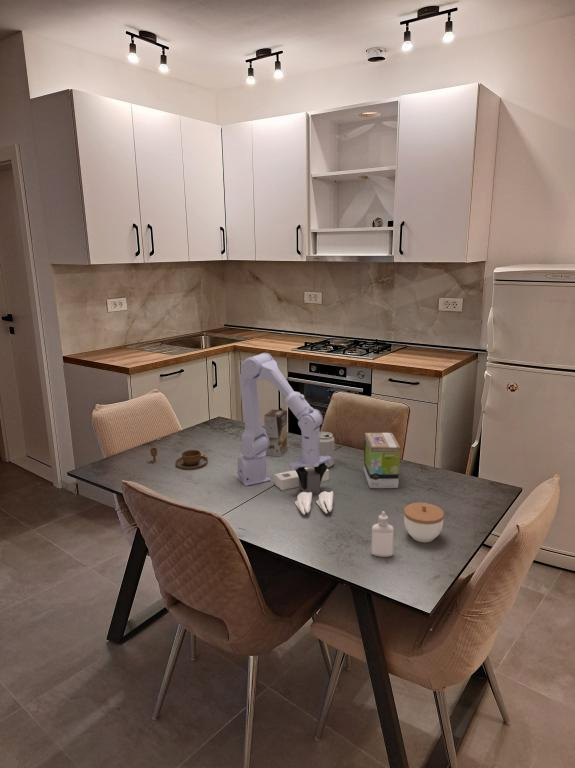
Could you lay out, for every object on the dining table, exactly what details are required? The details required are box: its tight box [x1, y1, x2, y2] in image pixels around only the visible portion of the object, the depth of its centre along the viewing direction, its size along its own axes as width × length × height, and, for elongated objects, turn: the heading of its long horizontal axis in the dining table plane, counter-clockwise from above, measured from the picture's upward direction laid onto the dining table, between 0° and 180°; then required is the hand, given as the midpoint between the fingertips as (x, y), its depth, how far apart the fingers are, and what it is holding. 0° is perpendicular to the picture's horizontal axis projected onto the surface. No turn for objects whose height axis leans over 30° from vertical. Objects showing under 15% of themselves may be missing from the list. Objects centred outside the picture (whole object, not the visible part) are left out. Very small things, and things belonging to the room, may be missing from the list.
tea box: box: [363, 432, 401, 489], centre depth 189 cm, size 15×10×15 cm
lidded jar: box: [403, 502, 445, 543], centre depth 152 cm, size 11×11×9 cm
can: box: [320, 431, 335, 469], centre depth 202 cm, size 8×8×12 cm
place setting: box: [150, 447, 209, 471], centre depth 208 cm, size 18×20×6 cm
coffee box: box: [263, 408, 288, 457], centre depth 215 cm, size 9×6×16 cm
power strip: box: [274, 467, 330, 491], centre depth 189 cm, size 18×6×4 cm, turn 116°
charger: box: [299, 468, 321, 496], centre depth 183 cm, size 4×9×6 cm, turn 26°
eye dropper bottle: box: [370, 511, 395, 558], centre depth 144 cm, size 4×6×12 cm
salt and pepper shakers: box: [294, 490, 334, 515], centre depth 169 cm, size 12×4×11 cm
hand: (310, 486), depth 181 cm, fingers closed on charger, 4 cm apart
